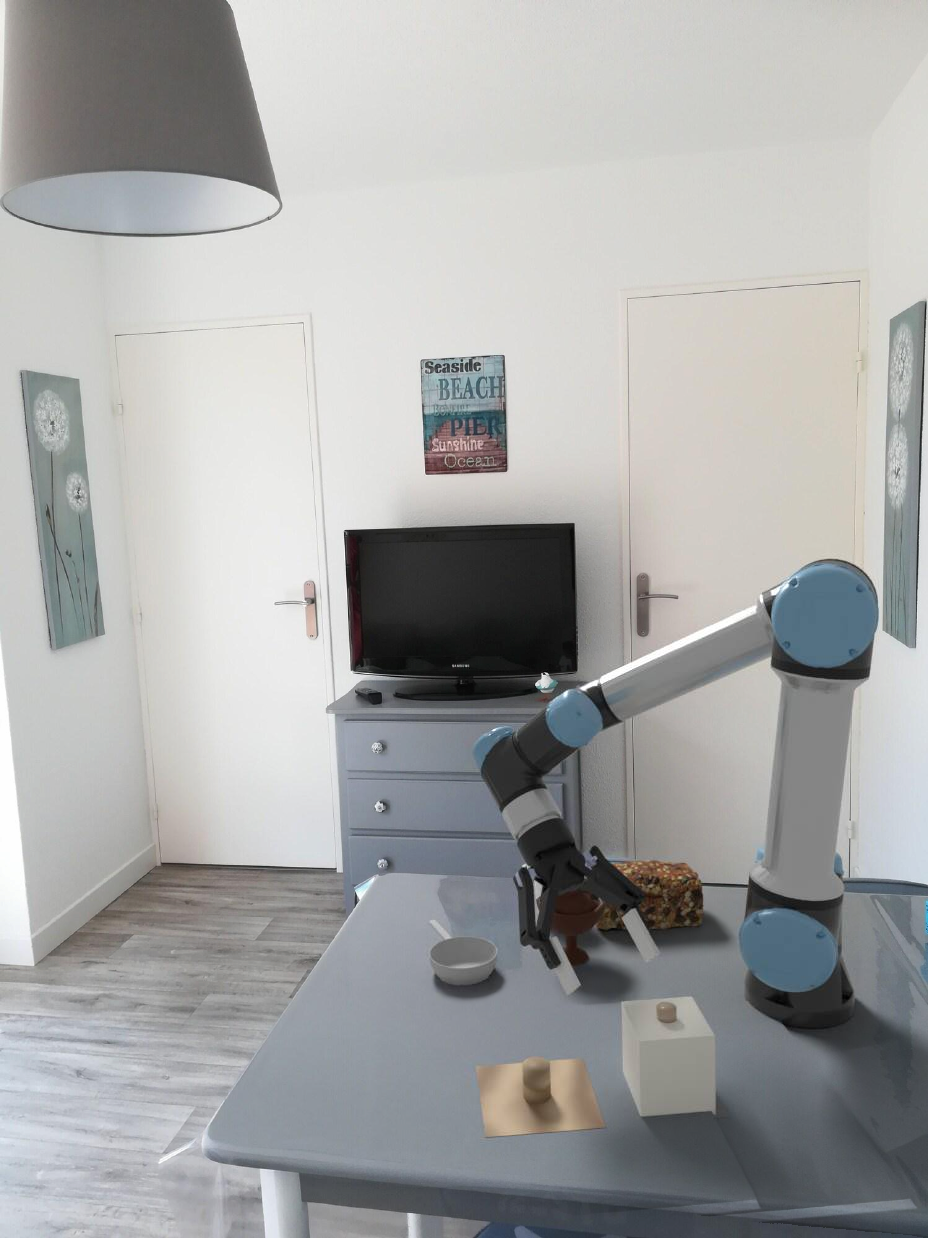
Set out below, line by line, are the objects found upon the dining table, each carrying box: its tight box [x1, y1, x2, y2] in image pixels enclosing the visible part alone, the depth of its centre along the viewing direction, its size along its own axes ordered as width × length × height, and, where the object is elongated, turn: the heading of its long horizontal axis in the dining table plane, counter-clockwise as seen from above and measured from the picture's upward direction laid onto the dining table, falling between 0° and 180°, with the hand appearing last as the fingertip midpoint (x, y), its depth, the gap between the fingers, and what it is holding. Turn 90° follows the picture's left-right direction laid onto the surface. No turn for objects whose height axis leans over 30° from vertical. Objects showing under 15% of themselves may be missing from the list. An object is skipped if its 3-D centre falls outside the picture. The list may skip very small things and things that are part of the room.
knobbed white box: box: [621, 996, 716, 1117], centre depth 117 cm, size 9×9×11 cm
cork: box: [521, 1056, 551, 1104], centre depth 117 cm, size 3×3×4 cm
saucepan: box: [428, 919, 498, 986], centre depth 154 cm, size 11×18×4 cm, turn 25°
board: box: [475, 1057, 607, 1139], centre depth 117 cm, size 14×14×1 cm
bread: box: [590, 859, 704, 931], centre depth 168 cm, size 19×11×10 cm, turn 91°
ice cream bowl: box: [535, 877, 605, 966], centre depth 154 cm, size 11×11×15 cm
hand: (614, 974), depth 122 cm, fingers open, 13 cm apart
